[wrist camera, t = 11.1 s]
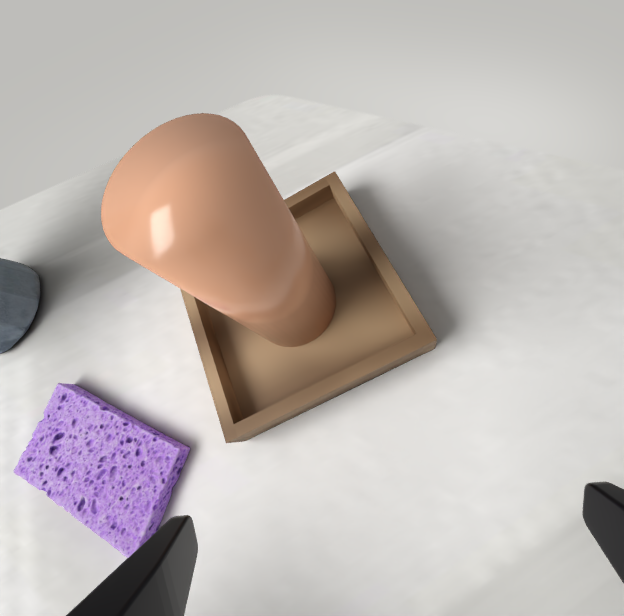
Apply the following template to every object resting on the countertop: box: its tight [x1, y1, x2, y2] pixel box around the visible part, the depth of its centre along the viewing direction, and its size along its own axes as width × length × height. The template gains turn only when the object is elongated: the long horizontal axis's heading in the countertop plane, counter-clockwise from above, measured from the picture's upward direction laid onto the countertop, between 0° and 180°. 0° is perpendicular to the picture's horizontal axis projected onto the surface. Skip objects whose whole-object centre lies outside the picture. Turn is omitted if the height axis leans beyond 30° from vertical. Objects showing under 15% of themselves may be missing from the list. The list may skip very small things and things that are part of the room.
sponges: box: [14, 383, 190, 558], centre depth 25 cm, size 7×13×2 cm, turn 68°
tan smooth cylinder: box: [101, 113, 336, 347], centre depth 18 cm, size 6×6×13 cm
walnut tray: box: [181, 172, 437, 443], centre depth 24 cm, size 14×14×2 cm
